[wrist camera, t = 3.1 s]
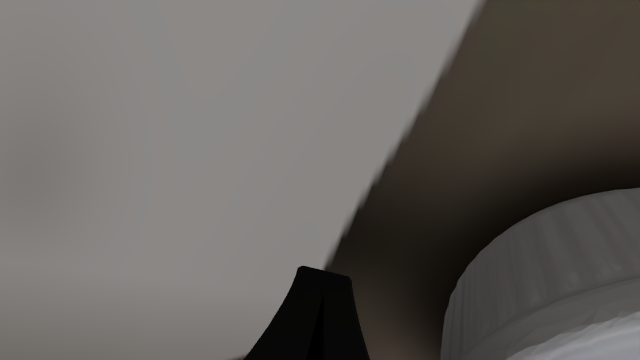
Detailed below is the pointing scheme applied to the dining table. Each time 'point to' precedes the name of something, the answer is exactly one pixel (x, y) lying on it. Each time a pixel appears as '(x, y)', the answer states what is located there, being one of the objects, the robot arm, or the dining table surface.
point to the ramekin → (554, 286)
